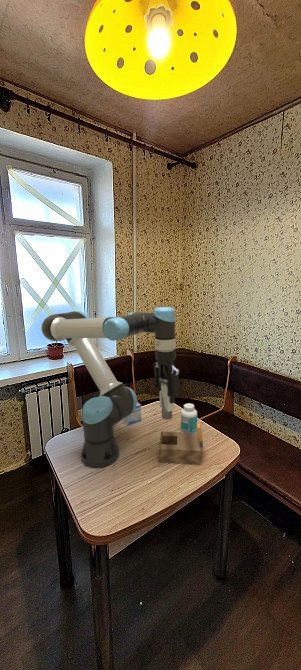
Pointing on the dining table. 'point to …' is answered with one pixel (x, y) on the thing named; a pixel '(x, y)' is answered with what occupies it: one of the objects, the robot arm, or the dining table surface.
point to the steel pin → (164, 398)
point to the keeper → (199, 431)
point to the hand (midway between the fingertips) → (167, 408)
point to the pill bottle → (189, 419)
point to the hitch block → (180, 448)
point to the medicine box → (134, 416)
